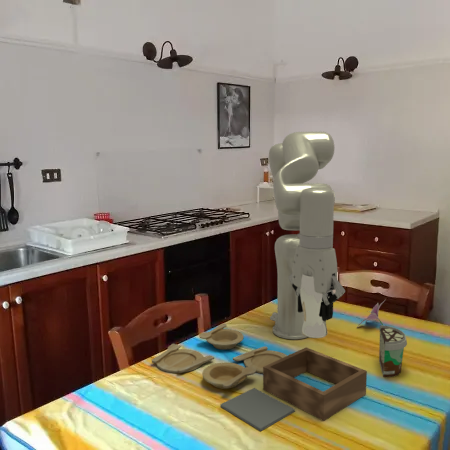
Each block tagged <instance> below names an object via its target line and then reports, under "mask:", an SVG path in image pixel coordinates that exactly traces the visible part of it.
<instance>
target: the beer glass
mask: <svg viewBox="0 0 450 450" xmlns="http://www.w3.org/2000/svg"><path fill="white" fill-rule="evenodd" d="M327 295H328V298H329V292H328V293H327ZM300 297H301V304H302V310H303V326H302V331H301V332H302V334H303V335H304V336H306V337H307V338H309V339H322V338H325V337H326V336H327V335H328V328H327V320H326V321H323V320H322V305H323V304H325V303H324V300H323V294H320V293H317V292H315V289H314V279H313V276H307V275H304V274H302V279H301V287H300Z"/></svg>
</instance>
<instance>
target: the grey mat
mask: <svg viewBox="0 0 450 450" xmlns="http://www.w3.org/2000/svg"><path fill="white" fill-rule="evenodd" d="M220 408H221V409H223V410H225V411H227V412H228V413H230V414H231V415H233V416H235V417H237V419H239V420H241V421H243V422H244V423H246V424H248V425H249V426H251V427H253V428H255V429H256V430H258V431H259V432H262V431H264V430H265V429H267V428H269V427H270V426H272V425H274V424H277V422H279V421H281V420H283V419H285V418H286V417H288V416H290V415H292V414H294V413H295V412H296V409H295V408H294V407H291V406H290V405H288V404H285V403H284V402H282V401H281V400H278V399H276V398H274V397H272V396H271V395H269V394H266V392H263V391H261V390H259V389H257V388H256V387H254V388H251V389H249V390H246V391H245V392H243V393H240V394H238V395H237V396H235V397H233V398H230V399H228V400H226V401H224V402H221V403H220Z"/></svg>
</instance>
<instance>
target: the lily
mask: <svg viewBox="0 0 450 450" xmlns="http://www.w3.org/2000/svg"><path fill="white" fill-rule="evenodd" d="M384 302H385V300H384V301H382V302H381V303H380V304H379V302H377V303H376V304H375V305H374V306H373V308H372V309H371V310H366V312H368V313H370V314H369V315H368V316H367V317H366V318H364V319H363V320H361V321H360V323H359V324H358V325H357V327H356V328H358V327H360V325H361V324H362V323H363V322H364V321H365V323H367V322H368V321H371V320H372V321H373V320H377V321H379V322H380V324H381V325H383V326H385V325H384V324H383V322H382V321H381V320H380V317H379V309H380V308H381V306H382V305H383V303H384Z"/></svg>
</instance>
